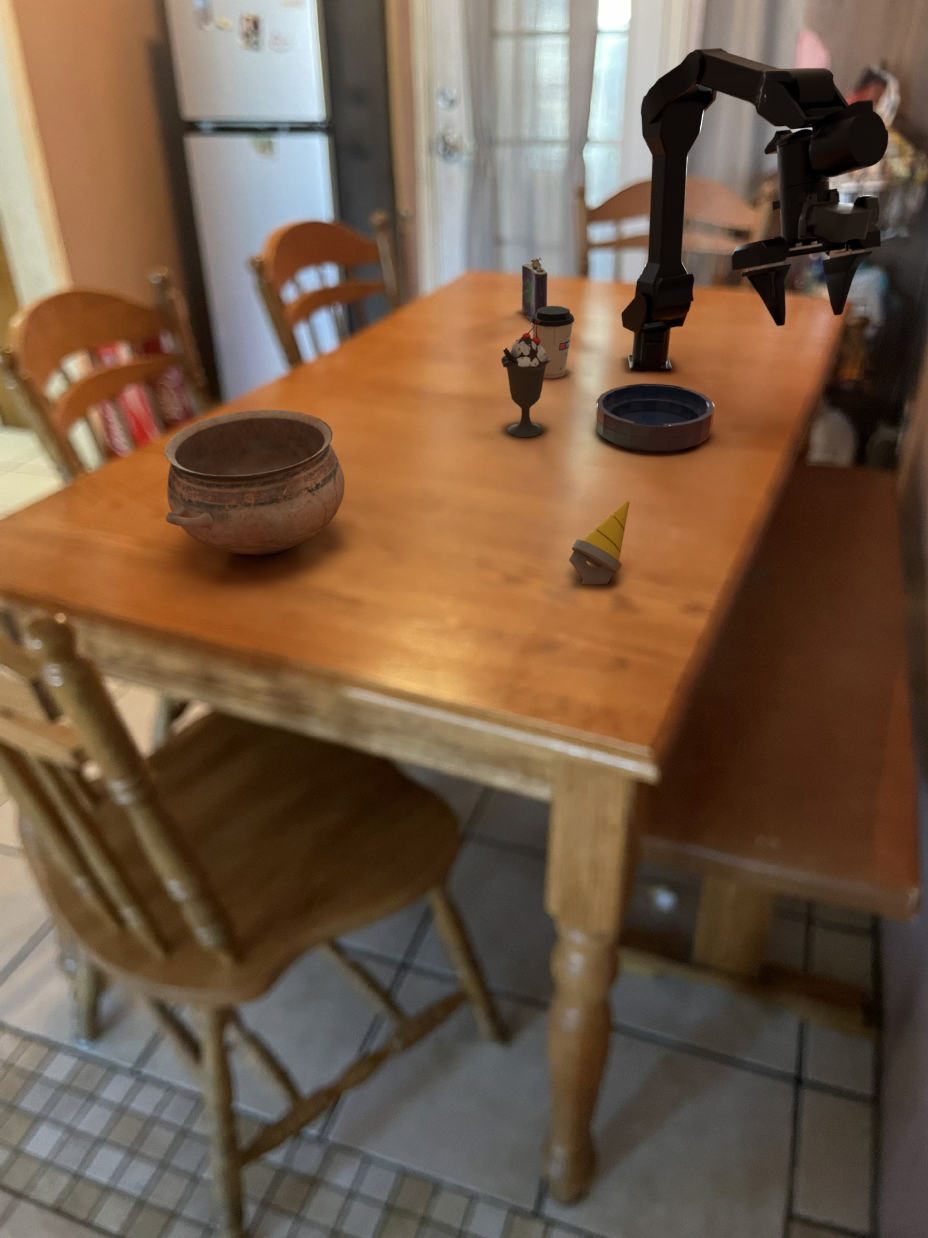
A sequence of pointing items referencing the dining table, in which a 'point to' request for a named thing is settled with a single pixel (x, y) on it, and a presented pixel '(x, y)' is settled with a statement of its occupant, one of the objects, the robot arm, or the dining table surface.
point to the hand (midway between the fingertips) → (809, 320)
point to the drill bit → (601, 549)
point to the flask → (533, 287)
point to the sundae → (525, 379)
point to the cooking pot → (254, 480)
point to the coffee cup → (554, 337)
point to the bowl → (654, 417)
